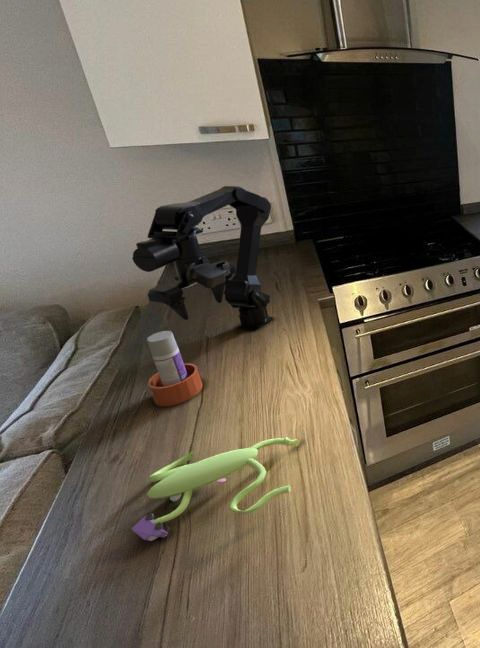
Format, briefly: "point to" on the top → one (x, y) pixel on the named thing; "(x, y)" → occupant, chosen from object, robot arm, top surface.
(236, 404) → the top surface
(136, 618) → the top surface
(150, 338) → the container
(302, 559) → the top surface
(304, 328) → the top surface
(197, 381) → the orange-brown bowl
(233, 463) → the figurine
